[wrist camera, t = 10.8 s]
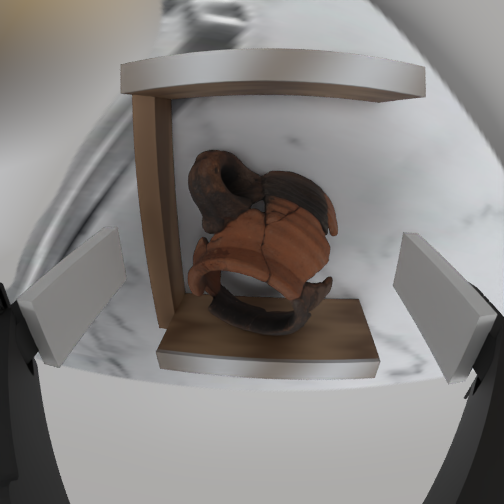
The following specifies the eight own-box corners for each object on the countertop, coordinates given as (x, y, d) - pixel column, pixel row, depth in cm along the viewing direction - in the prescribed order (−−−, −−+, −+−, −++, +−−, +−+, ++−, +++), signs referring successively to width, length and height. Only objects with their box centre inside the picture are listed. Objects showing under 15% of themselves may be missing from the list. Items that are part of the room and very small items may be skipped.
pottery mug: (365, 239, 22) (350, 339, 17) (266, 264, 28) (232, 345, 23) (274, 95, 16) (214, 168, 11) (175, 159, 22) (109, 234, 17)
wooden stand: (170, 307, 26) (139, 365, 19) (150, 81, 18) (94, 70, 12) (355, 314, 24) (374, 377, 18) (379, 81, 17) (425, 66, 10)
